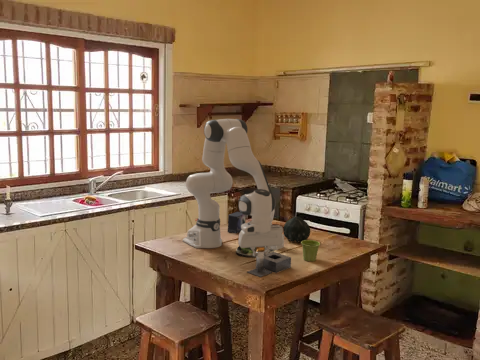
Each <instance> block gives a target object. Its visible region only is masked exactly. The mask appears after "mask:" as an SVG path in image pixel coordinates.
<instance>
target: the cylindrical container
mask: <svg viewBox="0 0 480 360" xmlns="http://www.w3.org/2000/svg"><path fill="white" fill-rule="evenodd" d="M265 247H266V246H264V247H256V252H257V256H256V257H255V258H256V259H255V269H256V270H257V271H263V270H264V251H265Z"/></svg>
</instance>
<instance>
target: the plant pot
mask: <svg viewBox="0 0 480 360" xmlns="http://www.w3.org/2000/svg"><path fill="white" fill-rule="evenodd" d="M300 244H301V247H302V258H303V260H304V261H306V262H315V261H316V260H317V256H318V255H317V254H318V251H319V248H320V246H321V243H320V241H317V240H314V239H306V240H304V241H302V242H300Z"/></svg>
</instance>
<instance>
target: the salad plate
mask: <svg viewBox="0 0 480 360" xmlns="http://www.w3.org/2000/svg"><path fill="white" fill-rule="evenodd" d="M265 250H266V246H265ZM254 251H255V252H256V247H255V249H254ZM275 251H276V250H274V249H269V251H268V253H271V252H275ZM235 254H237V256H240V257H246V258H256V256H253V251H252V249H251V247H249V248H241V247H240V246H239V245H238V247H237V248H236V250H235Z"/></svg>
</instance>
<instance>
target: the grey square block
mask: <svg viewBox="0 0 480 360" xmlns="http://www.w3.org/2000/svg"><path fill="white" fill-rule="evenodd" d="M290 268H292V257H291V256H289V255H285V254H282V253H279V252H275V251H272V252H269V253H268V254H267V256H264V269H265V270H268V271H270V272H272V273H274V274H277V273H280V272H283V271H285V270H288V269H290Z"/></svg>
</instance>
